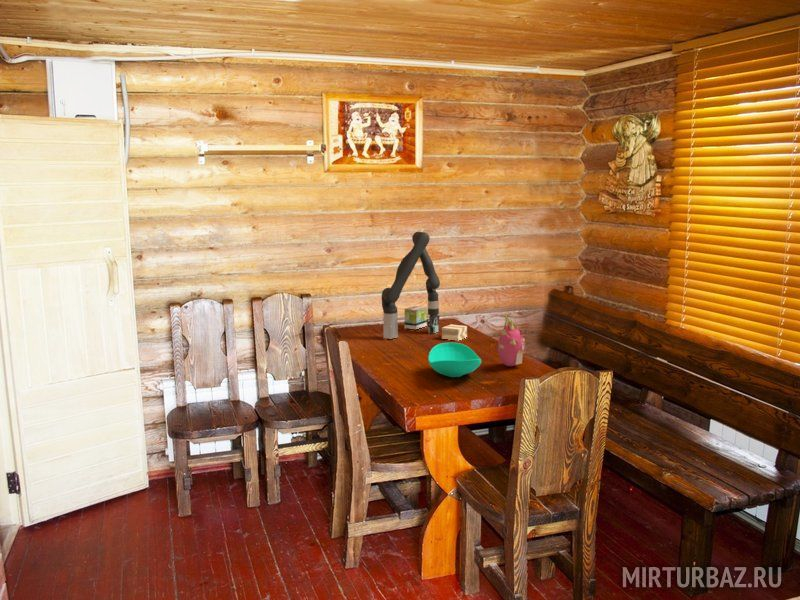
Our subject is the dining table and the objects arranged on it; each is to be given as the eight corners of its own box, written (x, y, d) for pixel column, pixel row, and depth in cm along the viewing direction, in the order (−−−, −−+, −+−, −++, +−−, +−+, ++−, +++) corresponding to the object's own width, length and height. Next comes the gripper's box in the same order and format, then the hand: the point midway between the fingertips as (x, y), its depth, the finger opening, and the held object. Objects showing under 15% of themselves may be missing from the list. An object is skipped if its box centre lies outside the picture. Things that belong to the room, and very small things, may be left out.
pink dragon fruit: (511, 371, 375) (512, 317, 370) (491, 367, 384) (491, 313, 379) (530, 364, 387) (530, 311, 382) (510, 360, 397) (510, 309, 391)
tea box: (416, 331, 478) (416, 309, 476) (404, 329, 484) (403, 308, 481) (427, 326, 491) (427, 306, 488) (415, 325, 496) (414, 305, 494)
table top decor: (488, 385, 352) (488, 359, 350) (434, 387, 349) (433, 362, 347) (473, 364, 391) (472, 341, 388) (424, 366, 388) (423, 343, 386)
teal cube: (435, 334, 468) (435, 326, 467) (428, 333, 471) (428, 326, 470) (438, 332, 472) (438, 325, 471) (431, 331, 475) (431, 324, 474)
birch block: (458, 341, 446) (458, 329, 444) (441, 339, 452) (441, 327, 451) (467, 338, 456) (467, 326, 454) (451, 336, 462) (451, 324, 461)
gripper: (433, 309, 460) (433, 334, 463) (443, 305, 473) (443, 330, 476) (423, 308, 464) (423, 333, 467) (433, 305, 476) (433, 329, 479)
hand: (433, 331), depth 471 cm, fingers closed on teal cube, 5 cm apart
